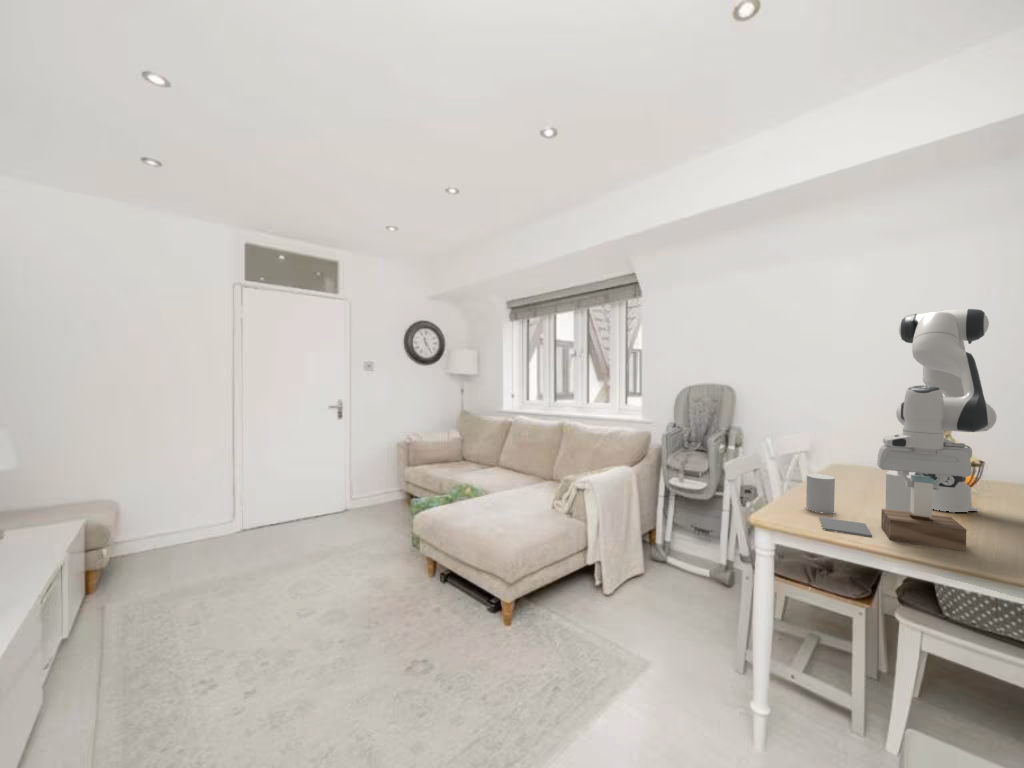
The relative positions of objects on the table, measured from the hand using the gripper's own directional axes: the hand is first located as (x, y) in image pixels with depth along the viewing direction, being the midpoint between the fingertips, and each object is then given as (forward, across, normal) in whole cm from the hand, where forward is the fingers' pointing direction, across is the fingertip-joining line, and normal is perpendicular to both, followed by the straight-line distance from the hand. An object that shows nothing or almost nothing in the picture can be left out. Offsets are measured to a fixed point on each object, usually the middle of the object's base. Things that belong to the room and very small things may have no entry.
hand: (921, 487), depth 129 cm
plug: (+8, 0, 0) cm, 8 cm away
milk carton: (+15, 0, -19) cm, 24 cm away
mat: (+15, +18, 0) cm, 23 cm away
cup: (+15, +23, -18) cm, 33 cm away
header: (+15, 0, 0) cm, 15 cm away
